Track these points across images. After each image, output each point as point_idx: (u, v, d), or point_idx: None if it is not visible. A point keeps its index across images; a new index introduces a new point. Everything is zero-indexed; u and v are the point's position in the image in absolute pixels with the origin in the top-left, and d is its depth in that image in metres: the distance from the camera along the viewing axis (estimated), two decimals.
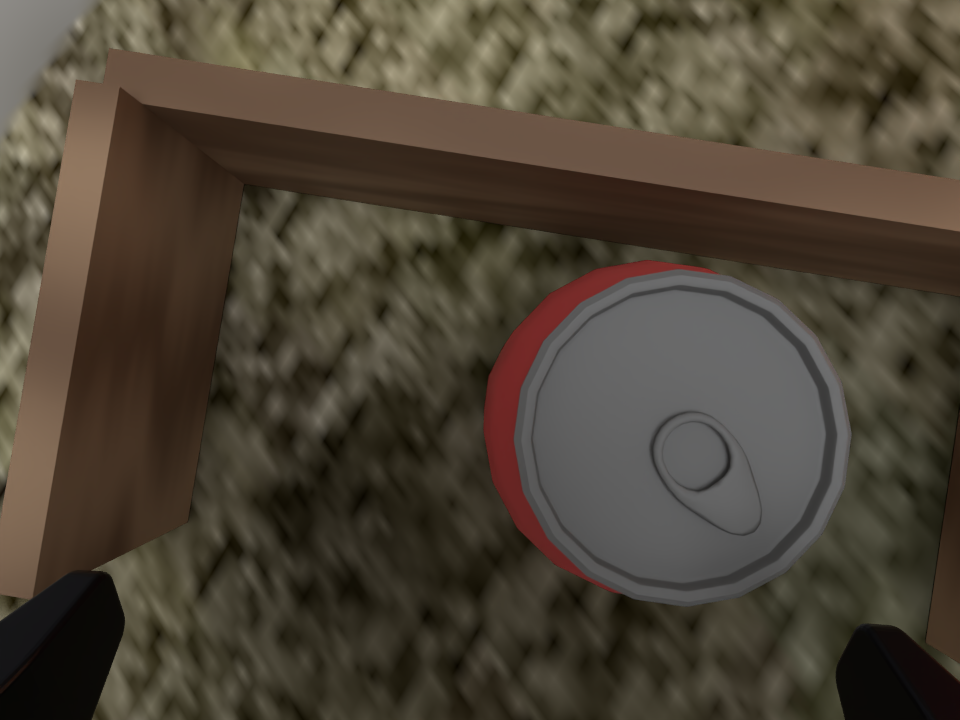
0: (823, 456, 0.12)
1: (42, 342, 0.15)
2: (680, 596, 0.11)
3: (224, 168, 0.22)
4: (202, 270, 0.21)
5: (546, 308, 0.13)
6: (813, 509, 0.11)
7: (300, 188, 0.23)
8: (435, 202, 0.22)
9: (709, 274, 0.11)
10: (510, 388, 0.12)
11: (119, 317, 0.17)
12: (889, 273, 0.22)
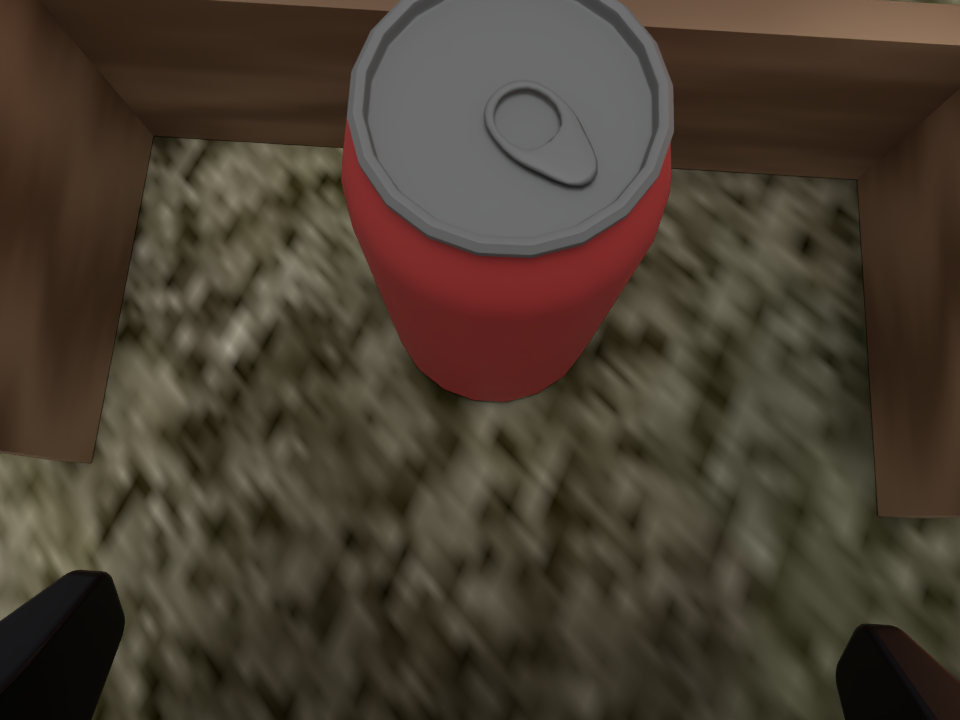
0: (651, 111, 0.12)
1: None
2: (524, 243, 0.11)
3: (129, 106, 0.23)
4: (105, 194, 0.22)
5: None
6: (647, 155, 0.12)
7: (205, 129, 0.24)
8: (331, 121, 0.23)
9: None
10: None
11: (2, 182, 0.17)
12: (765, 147, 0.23)
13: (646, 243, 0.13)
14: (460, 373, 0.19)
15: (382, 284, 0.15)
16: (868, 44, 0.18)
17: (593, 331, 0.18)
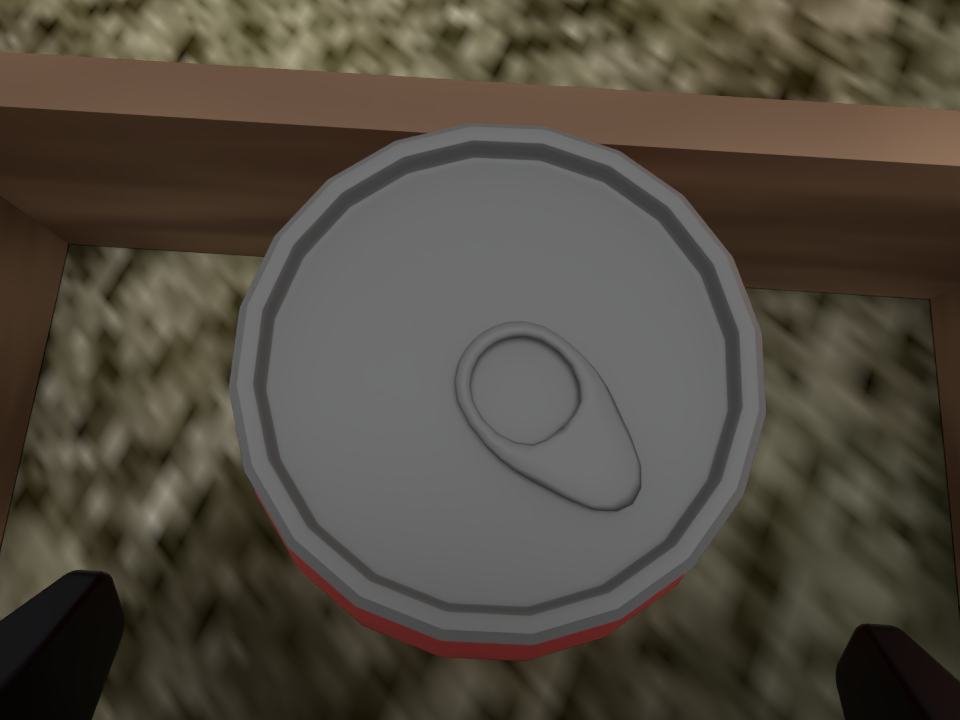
0: (725, 373, 0.07)
1: None
2: (519, 626, 0.07)
3: (30, 216, 0.18)
4: None
5: None
6: (722, 456, 0.07)
7: (130, 239, 0.20)
8: None
9: (515, 126, 0.08)
10: None
11: None
12: (822, 268, 0.18)
13: None
14: None
15: None
16: None
17: None
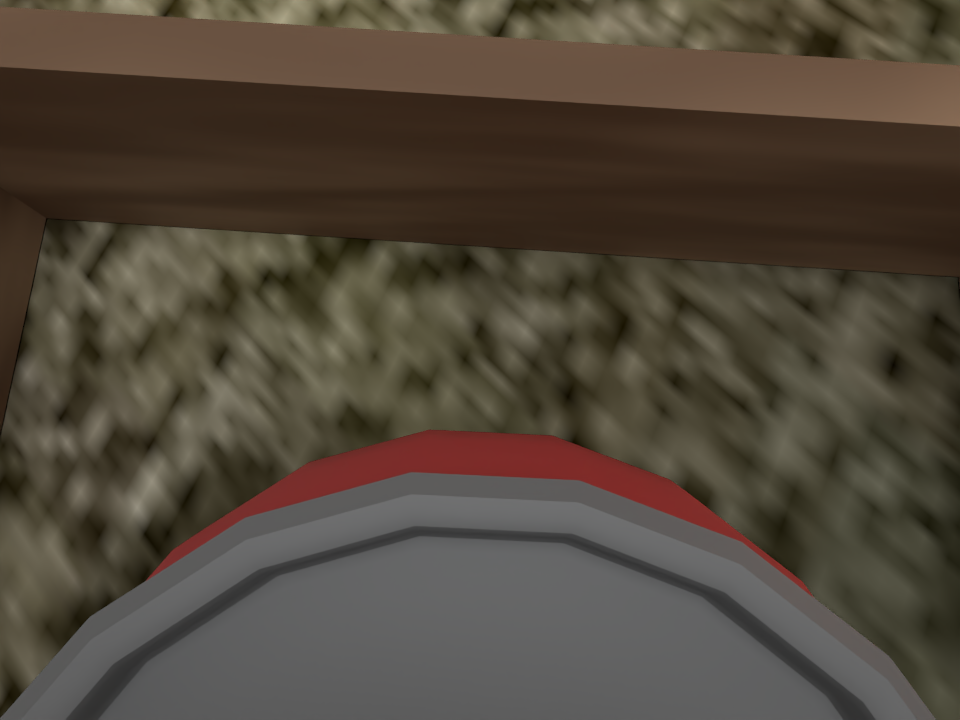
0: None
1: None
2: None
3: (2, 188, 0.17)
4: None
5: None
6: None
7: (110, 213, 0.18)
8: (271, 207, 0.17)
9: (512, 481, 0.04)
10: None
11: None
12: (846, 244, 0.17)
13: None
14: None
15: None
16: None
17: None
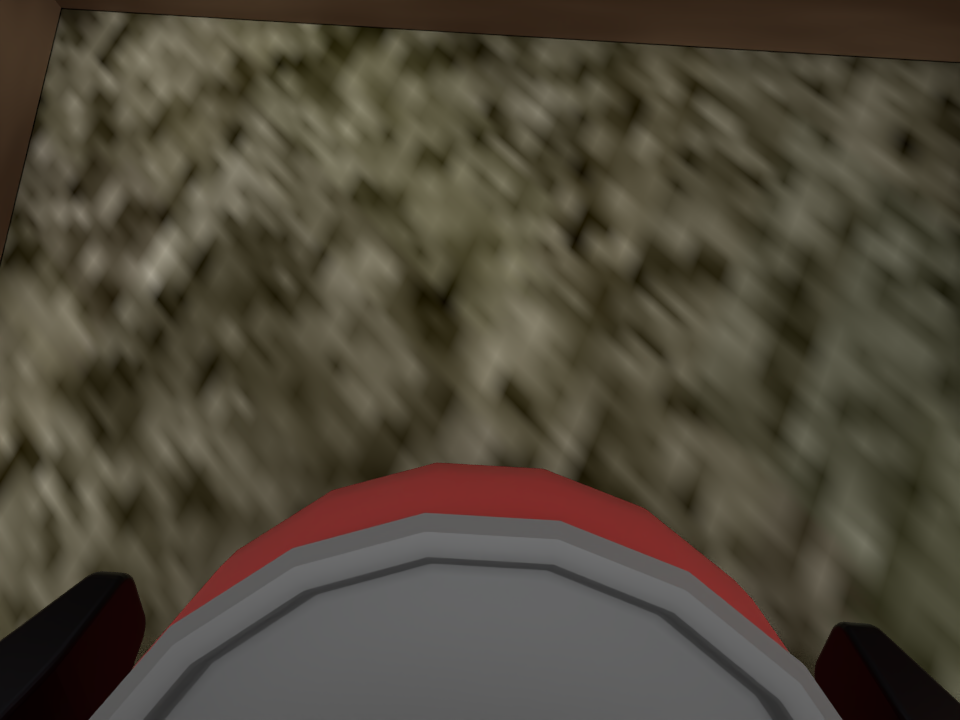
0: None
1: None
2: None
3: None
4: None
5: (191, 601, 0.06)
6: None
7: None
8: None
9: (505, 521, 0.04)
10: None
11: None
12: (858, 8, 0.17)
13: None
14: None
15: None
16: None
17: None
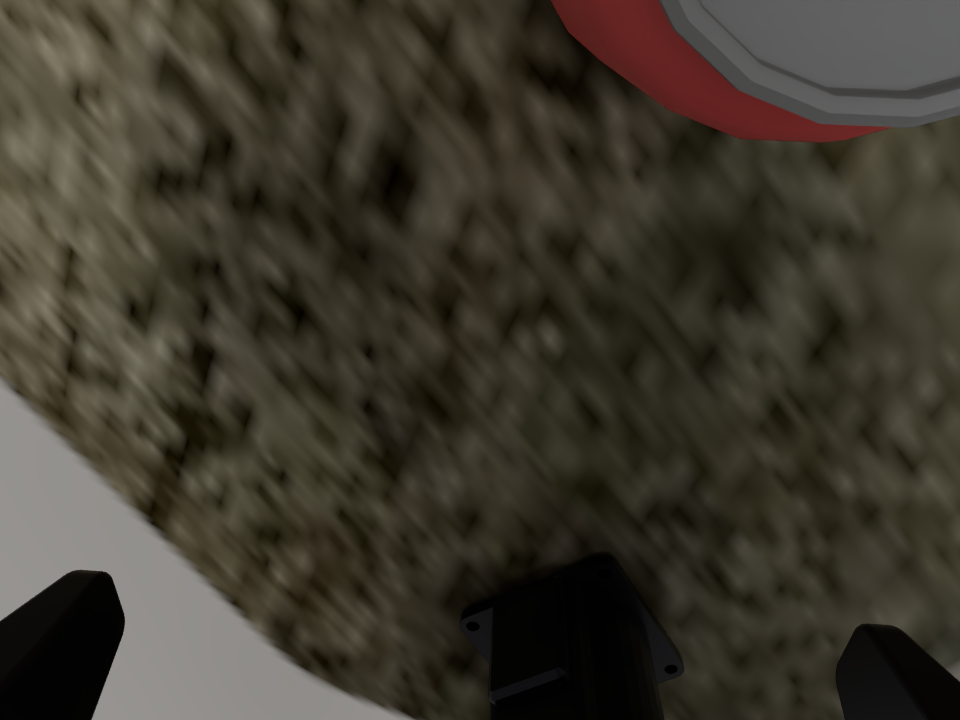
0: None
1: None
2: (904, 110, 0.07)
3: None
4: None
5: None
6: None
7: None
8: None
9: None
10: None
11: None
12: None
13: None
14: None
15: (582, 25, 0.10)
16: None
17: None
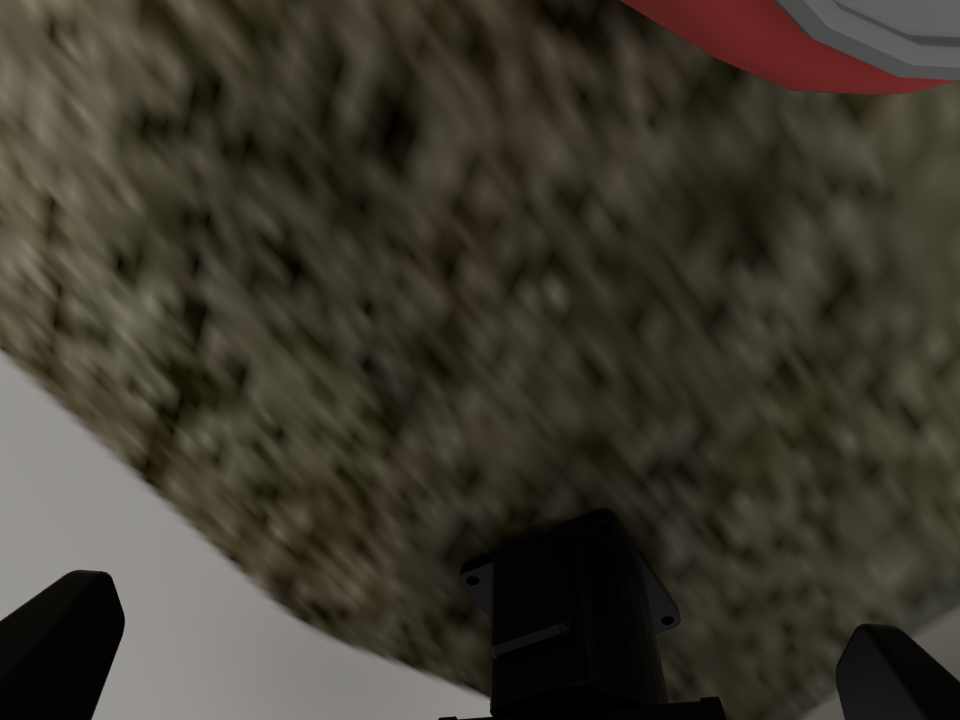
0: None
1: None
2: None
3: None
4: None
5: None
6: None
7: None
8: None
9: None
10: None
11: None
12: None
13: None
14: None
15: None
16: None
17: None
